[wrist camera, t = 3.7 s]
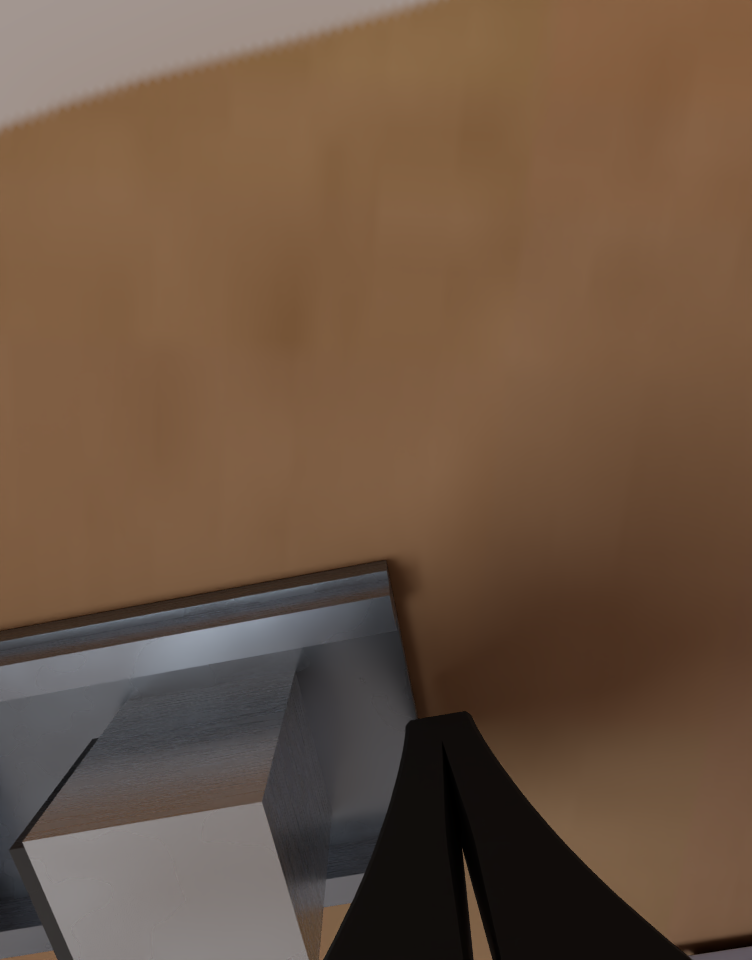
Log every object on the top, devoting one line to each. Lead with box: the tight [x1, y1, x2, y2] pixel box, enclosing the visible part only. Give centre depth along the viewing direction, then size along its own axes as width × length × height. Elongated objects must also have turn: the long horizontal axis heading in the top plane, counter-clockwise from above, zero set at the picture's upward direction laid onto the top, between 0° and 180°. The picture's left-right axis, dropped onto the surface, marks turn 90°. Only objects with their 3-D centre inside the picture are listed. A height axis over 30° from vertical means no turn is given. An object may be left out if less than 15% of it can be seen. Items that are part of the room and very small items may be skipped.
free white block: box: [9, 671, 332, 960], centre depth 10 cm, size 5×4×4 cm
